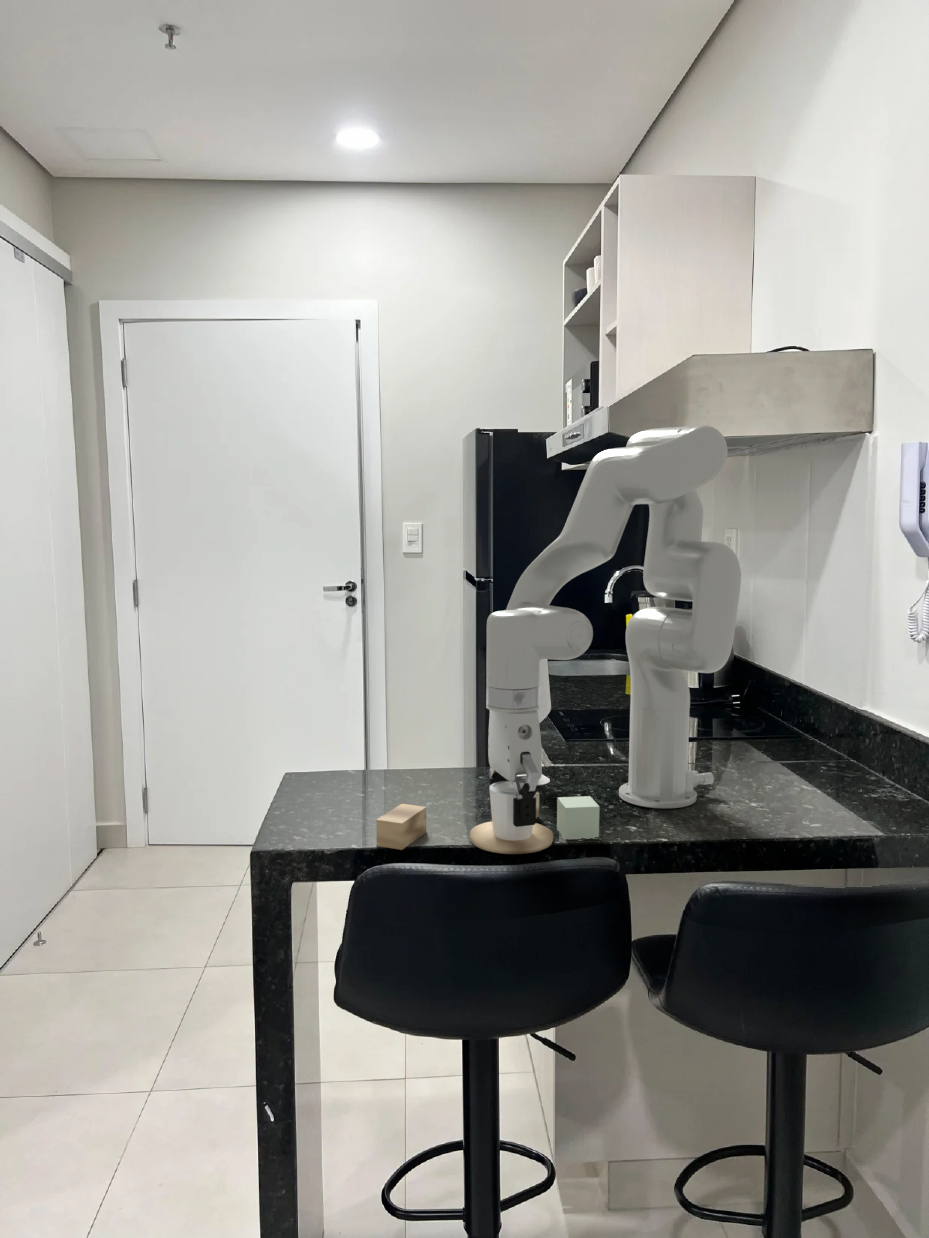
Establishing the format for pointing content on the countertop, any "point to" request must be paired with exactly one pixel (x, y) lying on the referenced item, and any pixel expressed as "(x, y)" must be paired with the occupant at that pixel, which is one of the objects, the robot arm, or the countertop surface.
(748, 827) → the countertop surface
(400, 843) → the oak brick
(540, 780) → the champagne flute
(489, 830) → the cork trivet
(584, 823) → the sage painted cube
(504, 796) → the shot glass
